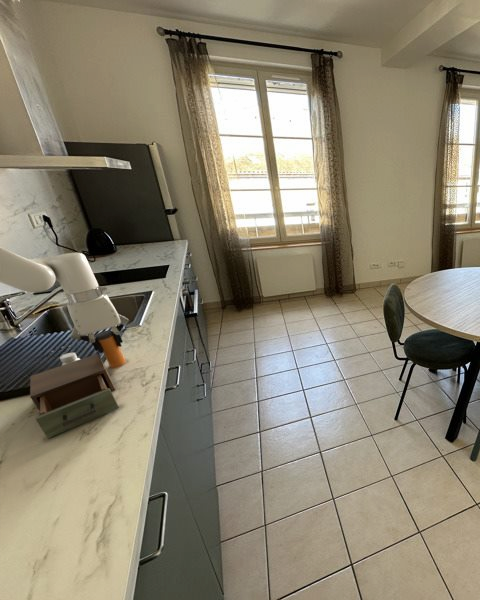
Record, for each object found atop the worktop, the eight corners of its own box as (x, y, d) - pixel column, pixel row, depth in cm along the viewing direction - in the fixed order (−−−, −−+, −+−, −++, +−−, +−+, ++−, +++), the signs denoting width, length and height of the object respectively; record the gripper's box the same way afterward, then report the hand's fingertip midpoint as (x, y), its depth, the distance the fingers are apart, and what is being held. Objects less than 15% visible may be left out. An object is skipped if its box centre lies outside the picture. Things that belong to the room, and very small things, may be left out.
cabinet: (116, 391, 93) (105, 369, 90) (45, 420, 84) (30, 396, 81) (109, 373, 102) (98, 353, 99) (43, 398, 93) (30, 376, 90)
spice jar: (128, 365, 106) (113, 332, 101) (111, 371, 103) (95, 338, 99) (125, 360, 109) (110, 328, 104) (109, 366, 106) (93, 334, 101)
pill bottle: (85, 377, 101) (74, 356, 98) (67, 382, 99) (55, 361, 96) (89, 370, 104) (78, 349, 101) (71, 375, 103) (60, 354, 100)
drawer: (121, 415, 83) (112, 396, 80) (48, 447, 74) (35, 428, 72) (111, 388, 93) (103, 371, 91) (46, 414, 85) (35, 396, 82)
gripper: (118, 284, 104) (139, 334, 111) (45, 301, 93) (74, 355, 101) (122, 289, 99) (144, 341, 107) (45, 308, 88) (76, 364, 96)
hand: (110, 347), depth 104 cm, fingers closed on spice jar, 4 cm apart
